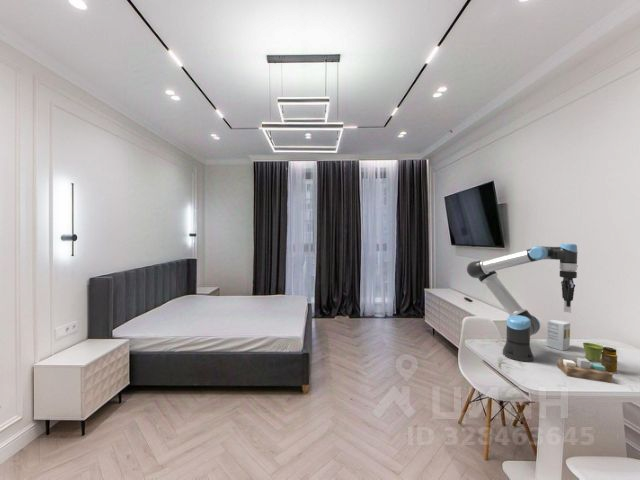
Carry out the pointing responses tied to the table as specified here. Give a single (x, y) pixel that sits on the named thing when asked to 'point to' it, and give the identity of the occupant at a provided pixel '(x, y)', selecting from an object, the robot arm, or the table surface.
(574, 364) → the cream white cube
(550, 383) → the table surface
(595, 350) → the plant pot
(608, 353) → the condiment
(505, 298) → the robot arm
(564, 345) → the supplement box
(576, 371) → the wooden tray
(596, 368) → the teal cube
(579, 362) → the grey cube
